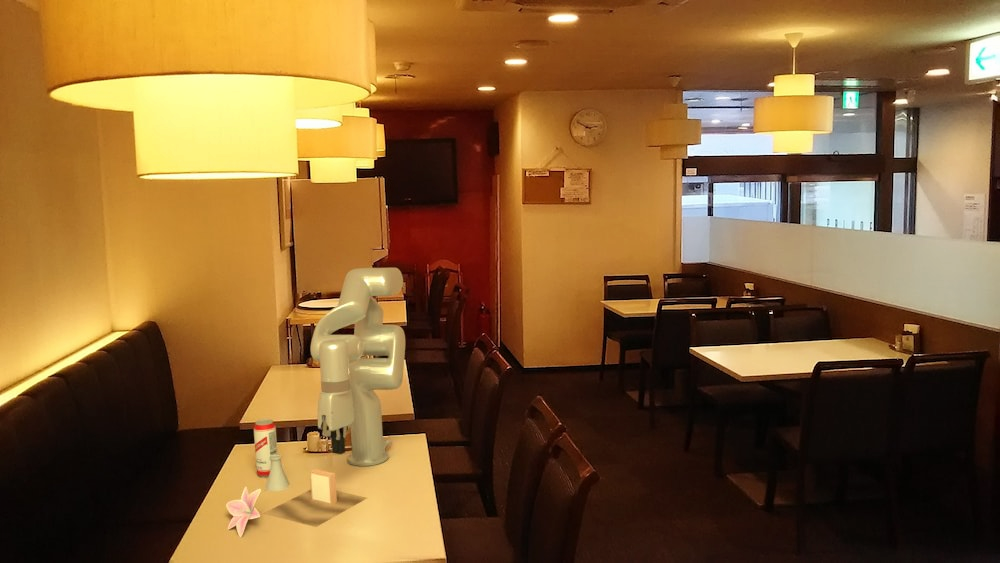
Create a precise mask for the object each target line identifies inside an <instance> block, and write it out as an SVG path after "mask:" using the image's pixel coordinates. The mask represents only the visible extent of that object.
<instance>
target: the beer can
mask: <svg viewBox="0 0 1000 563" xmlns="http://www.w3.org/2000/svg"><path fill="white" fill-rule="evenodd" d="M253 437H254V438H253V439H254V452H255V468H256V475H257V476H259V478H260V477H261V478H269V474H270V469H271V460H270V459H269V458H270V456H272V455H279V454H278V444H277V442H278V441H277V427H276V424H275V423H274V420H273V419H269V418H264V419H258V420H257V421H255V424H254V426H253Z"/></svg>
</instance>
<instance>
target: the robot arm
mask: <svg viewBox="0 0 1000 563" xmlns="http://www.w3.org/2000/svg"><path fill="white" fill-rule="evenodd" d="M403 278H404V276H403V274H402V271H401V270H400V269H399V268H397V267H359V268H353V269H351V270H349V271H348V272H347V274H346V276H345V278H344V281H343V285H342V288H341V292H340V296H339V300H338V303H337V305H336V306H334V307H333V308H332V309H330V310H329V311H327V313H325V314H324V315H323V316H322V317H321V318H320V319H319V320H318V321H317V323H316V325H315V328H314V331H313V334H312V337H311V342H310V355H311V357H312V358H313V360H314V361H316V362H318V363H319V368H320V369H319V370H320V389H321V393H319V395H318V401H317V402H318V405H317V428H318V429H319V430H322V436H324V437H328V438H329V440H331V451H332V453H333V454H336V455H343V454H345V453H346V445H345V444H346V439H345V438H346V437H347V432H348V430H349V429H350V439H351V453H349V454H348V455H347V457H346V459H347V460H346V461H347V462H348V464H350V465H353V466H359V467H360V466H361V467H367V466H368V467H369V466H374V465H380V464H382V463H384V462H386V461H387V460H389V455H390V454H389V452H388V451H386V448H387V447H388V446H391V445H392V442H393V441H392V439H390V438H387V439H385V440H384V439H383V438H384V436H383V435H384V434H383V433H384V432H383V418H382V415H383V414H382V402H381V399H380V397H379V396H378V394H377V393H376V391H387V390H388V391H391V390H396V389H397V390H398V389H399V388H400V387H401V386H402V382H403V377H404V369H405V357H406V356H405V354H406V352H405V351H406V334H405V331H404V329H403V328H402V327H401V326H400V325H398V324H397V325H396V324H383V323H384V310H383V308H382V306H381V305H380V304H379V302H378V301H377V300H376V299H375V298H374V297H393V296H397V295H398V294H400V292H401V290H402V289H403V285H404V279H403ZM351 325H354V329H353V332H354V333H353V334H333V333H334V332H336V331H338V330H339V329H342V328H345V327H348V326H351ZM362 356H367V357H362ZM371 356H372V357H371ZM374 356H377V357H374ZM379 356H380V357H379ZM383 356H386V357H383Z"/></svg>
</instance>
